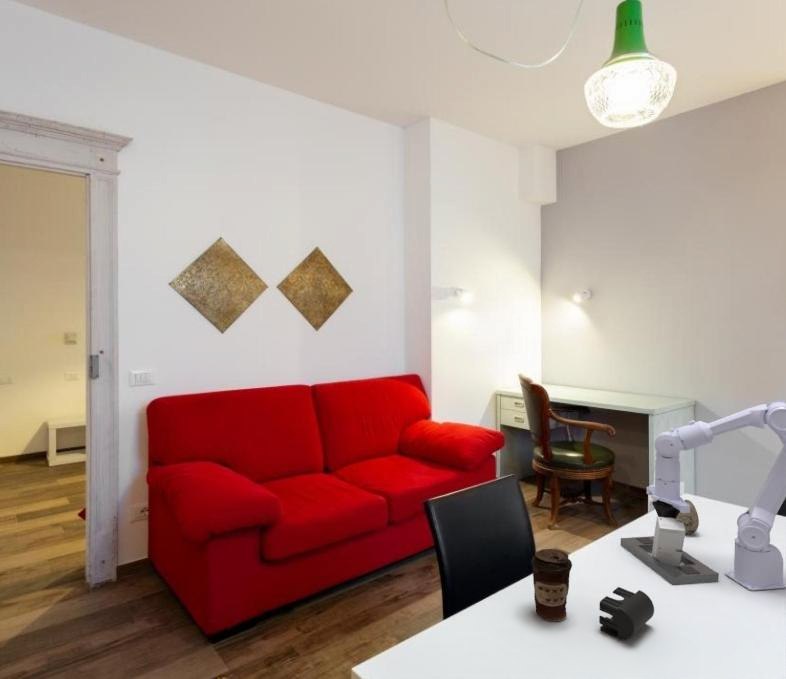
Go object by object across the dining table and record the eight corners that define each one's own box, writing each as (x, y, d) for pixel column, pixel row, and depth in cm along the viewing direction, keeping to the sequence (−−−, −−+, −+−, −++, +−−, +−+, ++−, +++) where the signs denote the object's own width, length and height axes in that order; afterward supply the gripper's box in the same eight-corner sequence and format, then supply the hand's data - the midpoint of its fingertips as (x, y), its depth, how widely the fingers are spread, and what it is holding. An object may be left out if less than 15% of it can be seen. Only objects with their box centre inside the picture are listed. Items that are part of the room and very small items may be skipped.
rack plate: (660, 542, 146) (660, 535, 146) (718, 581, 124) (718, 573, 124) (620, 545, 145) (620, 537, 145) (672, 585, 123) (672, 576, 123)
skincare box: (654, 564, 133) (658, 528, 129) (651, 551, 137) (655, 515, 132) (680, 567, 132) (686, 531, 127) (677, 554, 135) (682, 518, 131)
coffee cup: (574, 628, 106) (575, 566, 105) (532, 623, 107) (532, 562, 107) (568, 605, 114) (569, 547, 114) (529, 601, 116) (530, 544, 115)
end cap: (633, 648, 99) (634, 614, 99) (597, 631, 105) (598, 599, 104) (654, 627, 106) (655, 595, 106) (620, 613, 111) (620, 582, 111)
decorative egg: (702, 537, 150) (703, 503, 149) (682, 537, 150) (682, 503, 149) (691, 529, 156) (691, 496, 155) (671, 529, 156) (672, 496, 155)
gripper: (636, 471, 140) (635, 520, 141) (671, 488, 126) (670, 543, 127) (660, 470, 141) (659, 519, 142) (698, 487, 127) (697, 541, 127)
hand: (666, 530), depth 134 cm, fingers closed
